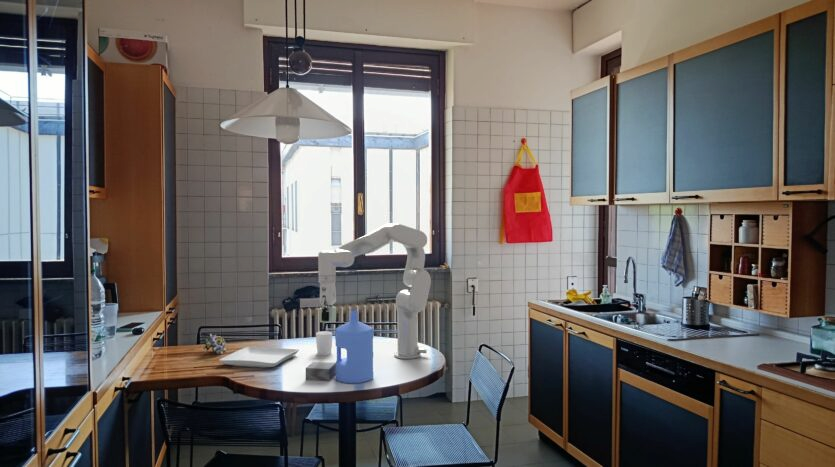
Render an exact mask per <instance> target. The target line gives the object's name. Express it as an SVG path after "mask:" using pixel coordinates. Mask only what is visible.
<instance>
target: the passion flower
mask: <svg viewBox="0 0 835 467" xmlns="http://www.w3.org/2000/svg"><path fill="white" fill-rule="evenodd" d="M203 343H204V345H205V346H204V347H203V349H202V350H205V349H206V350H205V351H206V353H205V354H207V353H208V351H209V350H210V349H211V351H212V352H214V353H215V354H217V355H223V351H226V349H227V348H226V340H225V339H224V336H223V335H221V336H220V335H219V336H218V335H217V334H214V335H213V334H212V333H209V339H207V338H206V339H205V340H204V341H203Z"/></svg>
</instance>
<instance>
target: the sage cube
mask: <svg viewBox="0 0 835 467" xmlns="http://www.w3.org/2000/svg"><path fill="white" fill-rule="evenodd" d="M325 307H326V309H327V306H325ZM321 310H322V309H321V307H319V308H318V322H319V323H334V322H336V321H337V307H336V306H333V307H329V308H328V312H329V321H322V312H321Z"/></svg>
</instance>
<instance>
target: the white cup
mask: <svg viewBox="0 0 835 467" xmlns="http://www.w3.org/2000/svg"><path fill="white" fill-rule="evenodd" d="M315 338H316V351H317V355H321V356H325V355H327V356H328V355H330V354H332V347H333V331H328V330H327V331H326V330H323V331H317V332H316V333H315Z"/></svg>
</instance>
